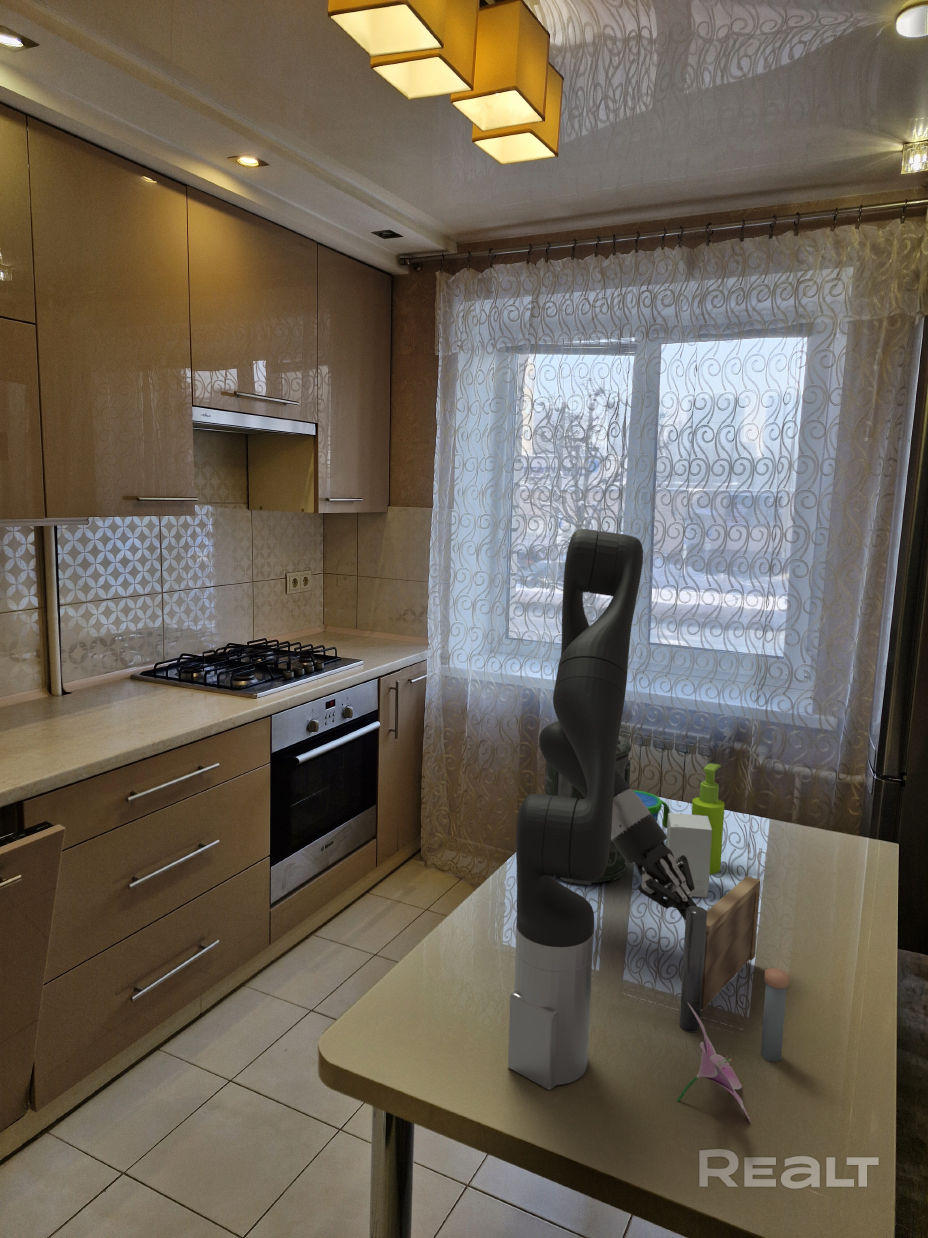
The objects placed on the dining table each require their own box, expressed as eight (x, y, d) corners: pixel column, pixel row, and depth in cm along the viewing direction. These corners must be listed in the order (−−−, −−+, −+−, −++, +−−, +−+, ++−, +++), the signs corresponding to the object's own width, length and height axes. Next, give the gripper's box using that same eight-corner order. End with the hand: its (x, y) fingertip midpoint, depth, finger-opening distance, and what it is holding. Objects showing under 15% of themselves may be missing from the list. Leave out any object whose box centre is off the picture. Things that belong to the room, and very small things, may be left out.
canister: (550, 846, 163) (555, 711, 160) (629, 858, 159) (636, 719, 155) (532, 879, 148) (538, 731, 145) (619, 893, 144) (627, 740, 140)
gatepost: (694, 1035, 104) (702, 918, 102) (675, 1026, 106) (682, 911, 104) (702, 1025, 106) (710, 910, 104) (684, 1017, 108) (691, 904, 106)
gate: (704, 1012, 107) (709, 926, 106) (690, 1006, 108) (695, 921, 107) (754, 956, 121) (760, 880, 120) (741, 952, 122) (747, 876, 121)
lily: (729, 1169, 84) (778, 1092, 84) (633, 1087, 90) (678, 1014, 89) (741, 1129, 95) (783, 1060, 95) (654, 1057, 100) (694, 992, 100)
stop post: (778, 1066, 99) (784, 983, 97) (755, 1056, 101) (761, 975, 99) (786, 1055, 101) (792, 974, 100) (763, 1045, 103) (769, 965, 101)
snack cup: (604, 859, 158) (606, 809, 157) (587, 838, 168) (589, 791, 167) (679, 855, 160) (682, 806, 159) (658, 835, 171) (661, 788, 170)
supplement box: (708, 899, 142) (712, 830, 141) (665, 894, 144) (669, 826, 142) (704, 880, 150) (708, 815, 148) (663, 876, 151) (667, 811, 149)
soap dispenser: (725, 864, 157) (731, 764, 154) (715, 877, 151) (722, 773, 149) (695, 856, 160) (701, 759, 158) (684, 869, 154) (690, 767, 152)
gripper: (625, 825, 120) (699, 931, 113) (665, 802, 130) (735, 899, 124) (592, 849, 124) (662, 953, 117) (634, 825, 134) (700, 920, 128)
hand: (699, 925), depth 121 cm, fingers closed
